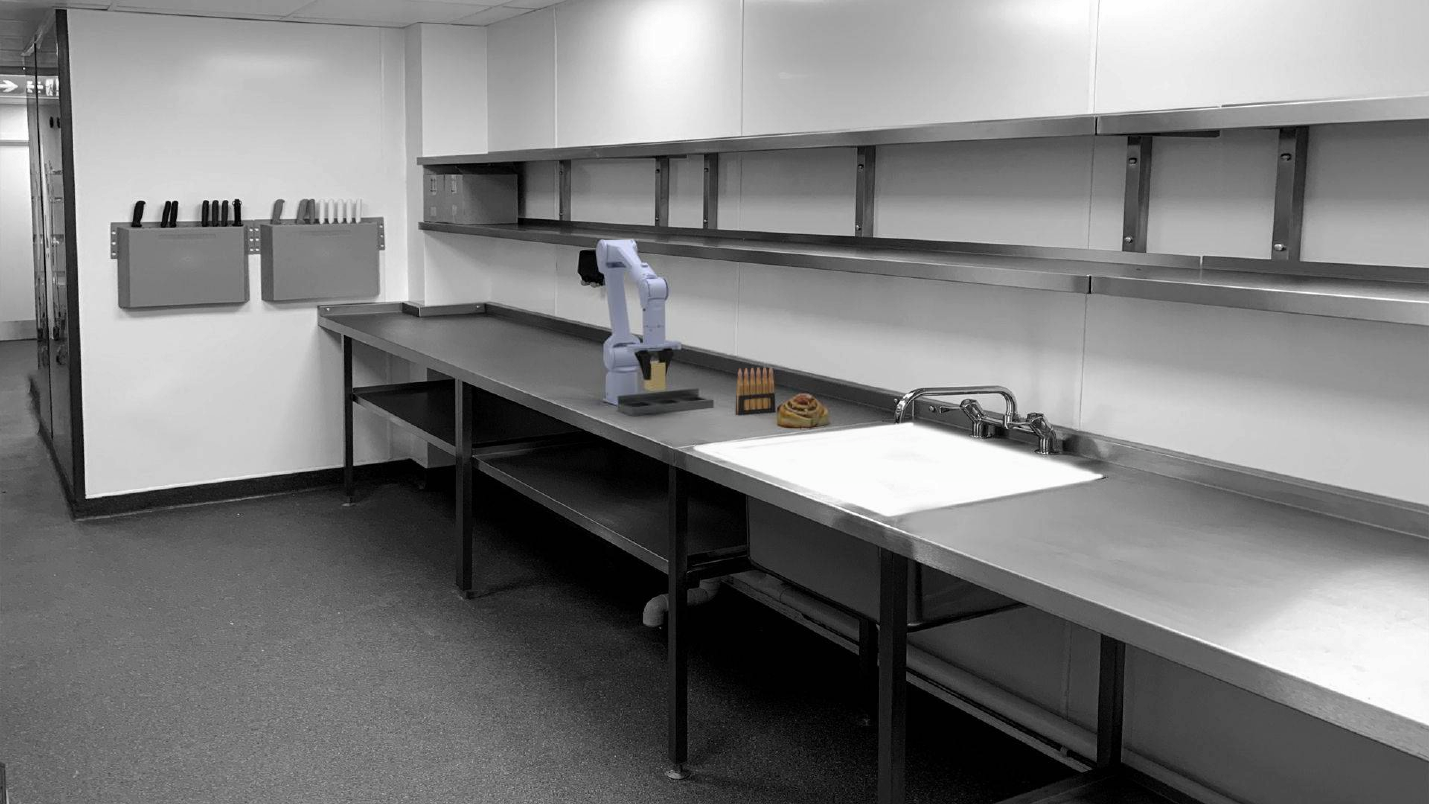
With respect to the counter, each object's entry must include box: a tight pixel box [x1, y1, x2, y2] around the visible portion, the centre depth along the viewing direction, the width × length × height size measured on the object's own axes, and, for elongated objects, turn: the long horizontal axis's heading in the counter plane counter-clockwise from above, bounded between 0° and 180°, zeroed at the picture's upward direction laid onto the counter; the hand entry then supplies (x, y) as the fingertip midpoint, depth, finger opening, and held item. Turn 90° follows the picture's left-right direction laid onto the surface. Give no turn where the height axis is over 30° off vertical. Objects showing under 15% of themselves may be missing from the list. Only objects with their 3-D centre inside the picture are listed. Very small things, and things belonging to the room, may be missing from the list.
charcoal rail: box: [617, 387, 715, 417], centre depth 316 cm, size 9×24×4 cm, turn 120°
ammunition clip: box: [735, 366, 777, 416], centre depth 309 cm, size 11×2×12 cm, turn 113°
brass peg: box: [643, 360, 667, 392], centre depth 307 cm, size 4×4×7 cm
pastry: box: [776, 393, 830, 430], centre depth 296 cm, size 13×15×8 cm
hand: (654, 378), depth 307 cm, fingers closed on brass peg, 4 cm apart
